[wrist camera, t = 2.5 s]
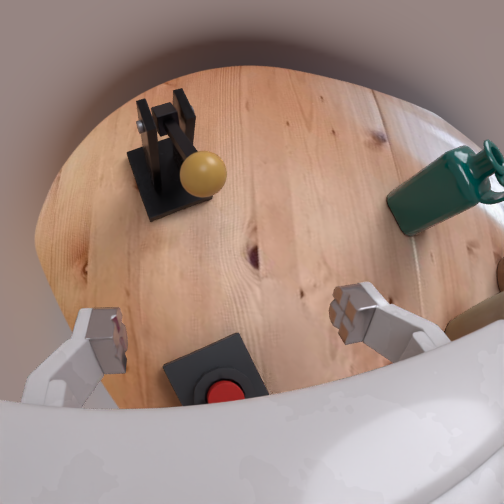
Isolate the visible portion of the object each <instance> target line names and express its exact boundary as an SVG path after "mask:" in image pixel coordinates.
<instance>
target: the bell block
mask: <svg viewBox="0 0 504 504" xmlns="http://www.w3.org/2000/svg"><path fill="white" fill-rule="evenodd" d="M163 369H164V371H165V373H166V375H167V377H168V379H169V381H170V383H171V385H172V387H173V389H174V391H175V392H176V394H177V396H178V398H179V400H180V402H181V404H182V406H192V405H202V404H208V400H207V393H208V391H209V389H210V387H211V386H212V385H213V384H215V383H216V382H219V381H231V382H233V383H235V384H236V385H237V386H238V387H239V388H240V389H241V390H242V392H243V394H244V397H245V399H249V398H255V397H261V396H267V395H269V393H268V391H267V389H266V387H265V385H264V383H263V381H262V379H261V377H260V375H259V373H258V371H257V369H256V367H255V365H254V363H253V361H252V359H251V357H250V355H249V353H248V351H247V349H246V347H245V345H244V343H243V340H242V338H241V336H240V334H239V333H234V334H232V335H230V336H227V337H225V338H223V339H221V340H219V341H217V342H214V343H212V344H210V345H208V346H205V347H203V348H201V349H199V350H196V351H194V352H192V353H190V354H187V355H185V356H183V357H180V358H178V359H176V360H173V361H171V362H169V363H166V364H164V365H163Z"/></svg>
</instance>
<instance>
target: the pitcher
mask: <svg viewBox="0 0 504 504" xmlns="http://www.w3.org/2000/svg"><path fill="white" fill-rule="evenodd" d="M483 146H484V149H483V150H482V151H480V152H479V153H477V154H475V153H474V151H473V150H472V149H471V148H469V147H468V146H460V147H458V148H455V149H453V150H450V151H447V152H446V153H444V154H443V155H441V156H440V157H439V158H437V159H436V160H435V161H433V162H432V163H430V164H429V165H428V166H426V167H425V168H424V169H422V170H421V171H419V172H418V173H417V174H415V175H414V176H412V177H411V178H410V179H408V180H407V181H405V182H404V183H403V184H401V185H400V186H398V187H397V188H396V189H394V190H393V191H391V192H390V193H389V195H388V197H387V202H388V205H389V207H390V209H391V211H392V213H393V215H394V216H395V218H396V220H397V222H398V224H399V226H400V228H401V230H402V231H403V232H404V234H406V235H408V236H414V235H416V234H418V233H420V232H422V231H424V230H427V229H429V228H431V227H433V226H435V225H437V224H439V223H441V222H443V221H445V220H447V219H449V218H451V217H454V216H456V215H458V214H460V213H462V212H464V211H466V210H468V209H470V208H472V207H474V206H475V205H477V204H478V203H479V202H480V203H484V204H495V203H499V202H502V201H504V192H494V191H492V190H491V184H490V180H489V176H491V175H493V174H494V173H495V176H496V178H497V180H498V182H499V183H500V184H501V185H502V186H503V187H504V158H503V155H502V154H501V152H500V150H499V149H498V147H497V146H496V145H495V144H494V143H493V142H492V141H490V140H488V139H487V140H485V141H484V145H483Z"/></svg>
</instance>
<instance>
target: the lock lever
mask: <svg viewBox="0 0 504 504" xmlns="http://www.w3.org/2000/svg"><path fill="white" fill-rule="evenodd" d="M151 111H152V117H153V120H154V122H155V125H156V128H157V132H158V133H159V135H160V136H164V135H167V134H168V136H169V137H170V139H171V141H172V142H173V144H174V145H175V147H176V148H177V150H178V152H179V153H180V155H181V156H182V158H183V159H184V162H183V164H182V166H181V170H180V180H181V183H182V185H183V187H184V188H185V190H186V191H187V192H188V193H190V194H191V195H193V196H196V197H202V198H203V197H210V196H212V195H214V194H216V193H218V192H219V191H220V190H221V189H222V187H223V186H224V184H225V181H226V177H227V171H226V166H225V164H224V162H223V161H222V159H221V158H220V157H219V156H217V155H216V154H214V153H212V152H208V151H199V152H198V151H197V150H196V148H195V147H194V146H193V144H192V143H191V142H190V140H189V139H188V138H187V136H186V135H185V134H184V132H183V131H182V129H181V128H180V124H179V117H178V111H177V110H176V109H175V107H174V106H173V105H172V104H171V102H169V103H165V104H162V105H159V106H155V107H152V108H151Z"/></svg>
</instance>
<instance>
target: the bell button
mask: <svg viewBox="0 0 504 504" xmlns="http://www.w3.org/2000/svg"><path fill="white" fill-rule="evenodd" d="M242 399H245V397H244V394H243V392H242V390H241V389H240V388H239V387H238V386H237V385H236V384H235V383H233V382H231V381H219V382H216V383H215V384H213V385H212V386H211V387H210V389H209V391H208V393H207V400H208V404H211V403H220V402H228V401H235V400H242Z"/></svg>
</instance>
